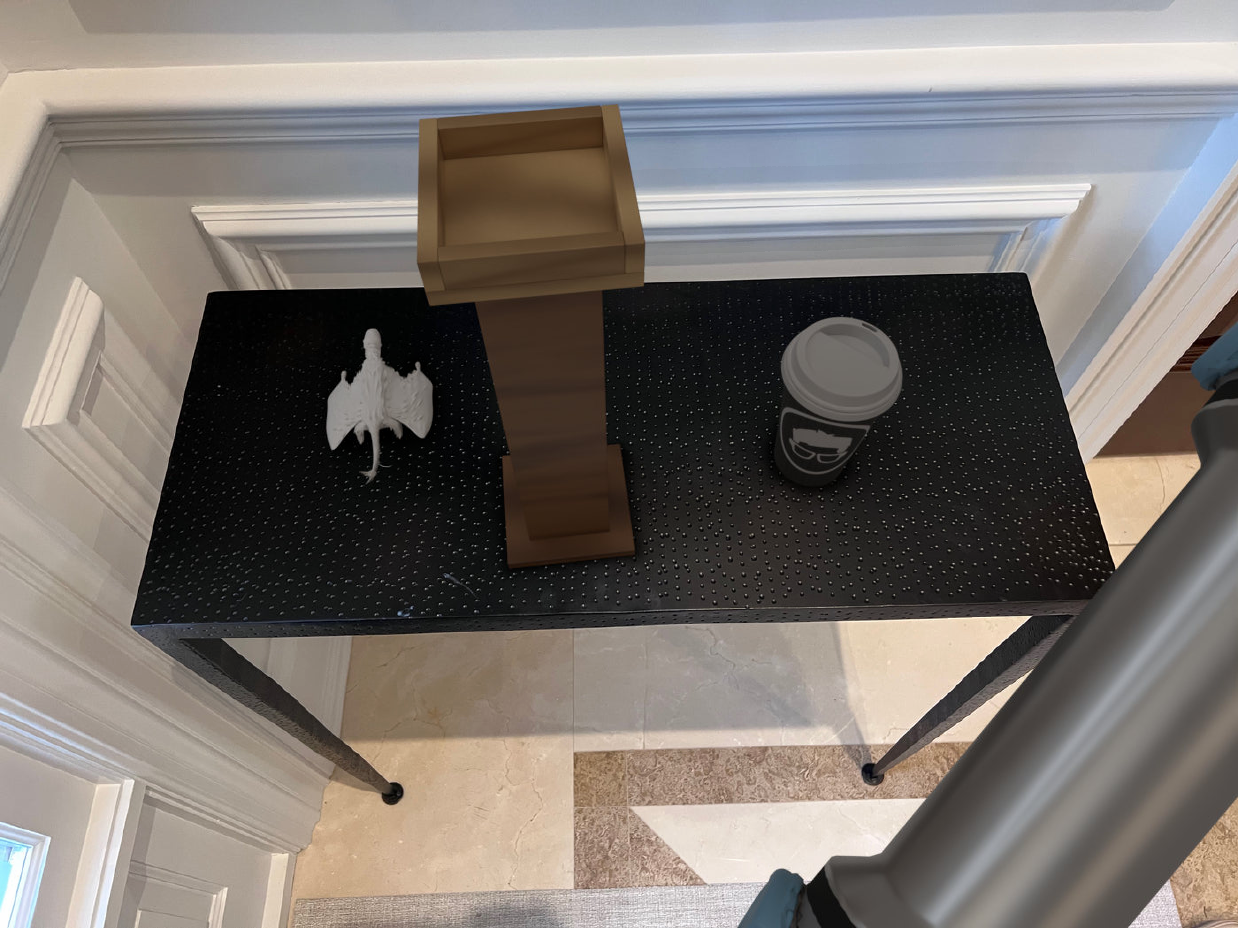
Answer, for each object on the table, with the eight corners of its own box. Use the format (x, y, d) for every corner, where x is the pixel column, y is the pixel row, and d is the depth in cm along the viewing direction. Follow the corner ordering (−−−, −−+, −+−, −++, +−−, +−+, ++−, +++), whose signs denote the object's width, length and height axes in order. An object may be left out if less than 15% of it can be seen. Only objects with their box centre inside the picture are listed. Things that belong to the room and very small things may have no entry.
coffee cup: (881, 472, 73) (936, 372, 60) (798, 518, 71) (837, 425, 58) (818, 400, 77) (856, 292, 65) (737, 441, 75) (761, 338, 62)
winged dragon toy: (438, 494, 72) (428, 471, 69) (325, 509, 71) (309, 487, 68) (431, 343, 81) (422, 316, 78) (331, 355, 81) (317, 328, 77)
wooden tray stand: (635, 554, 69) (645, 242, 38) (509, 569, 68) (416, 263, 37) (619, 449, 75) (618, 103, 44) (503, 461, 74) (418, 118, 43)
